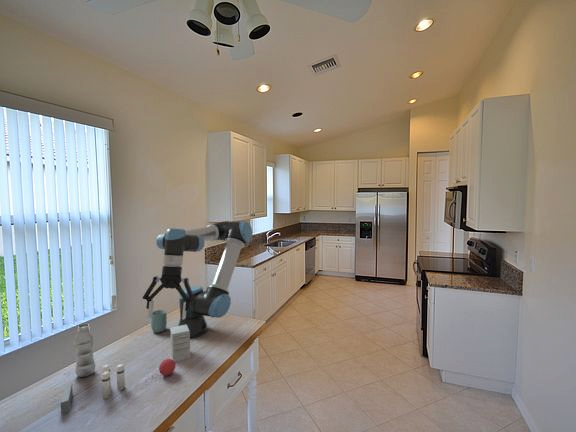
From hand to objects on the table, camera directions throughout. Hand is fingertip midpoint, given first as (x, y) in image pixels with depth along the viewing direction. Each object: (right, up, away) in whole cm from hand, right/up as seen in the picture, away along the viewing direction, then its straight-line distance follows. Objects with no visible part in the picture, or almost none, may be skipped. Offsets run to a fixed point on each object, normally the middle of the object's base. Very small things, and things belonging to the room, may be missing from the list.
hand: (166, 318), depth 118 cm
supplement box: (+2, -21, +10) cm, 23 cm away
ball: (+2, -18, -3) cm, 19 cm away
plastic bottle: (-31, -22, -3) cm, 38 cm away
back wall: (-26, -23, -20) cm, 40 cm away
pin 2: (-15, -22, -16) cm, 31 cm away
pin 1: (-17, -22, -12) cm, 30 cm away
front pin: (-12, -22, -11) cm, 28 cm away
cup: (-19, -19, +35) cm, 44 cm away
